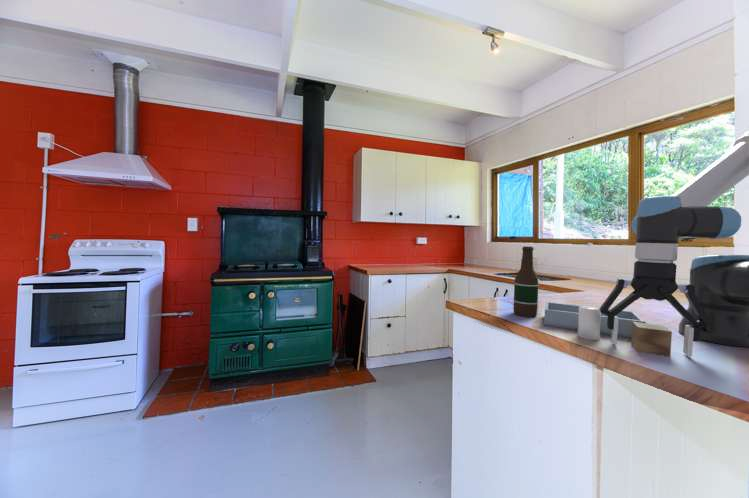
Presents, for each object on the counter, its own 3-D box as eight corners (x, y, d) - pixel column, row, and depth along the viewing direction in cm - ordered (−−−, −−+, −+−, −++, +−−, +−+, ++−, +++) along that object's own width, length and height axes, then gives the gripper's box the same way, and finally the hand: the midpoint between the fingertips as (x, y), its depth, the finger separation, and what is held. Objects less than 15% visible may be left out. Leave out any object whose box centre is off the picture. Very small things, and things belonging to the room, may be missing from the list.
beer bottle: (540, 318, 102) (543, 247, 102) (516, 316, 104) (518, 246, 103) (533, 312, 110) (536, 246, 109) (510, 311, 112) (513, 246, 111)
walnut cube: (662, 349, 75) (663, 325, 75) (670, 357, 70) (671, 331, 70) (631, 344, 78) (632, 321, 78) (636, 351, 73) (637, 327, 73)
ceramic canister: (598, 336, 84) (600, 307, 84) (600, 341, 80) (602, 311, 80) (577, 333, 87) (578, 305, 86) (578, 337, 82) (579, 308, 82)
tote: (633, 327, 93) (634, 311, 93) (644, 340, 82) (645, 321, 81) (545, 316, 105) (546, 301, 105) (544, 325, 94) (544, 309, 94)
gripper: (721, 264, 70) (715, 354, 71) (590, 257, 83) (585, 334, 84) (738, 266, 64) (730, 365, 65) (593, 258, 77) (588, 341, 77)
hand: (649, 348), depth 74 cm, fingers open, 13 cm apart
